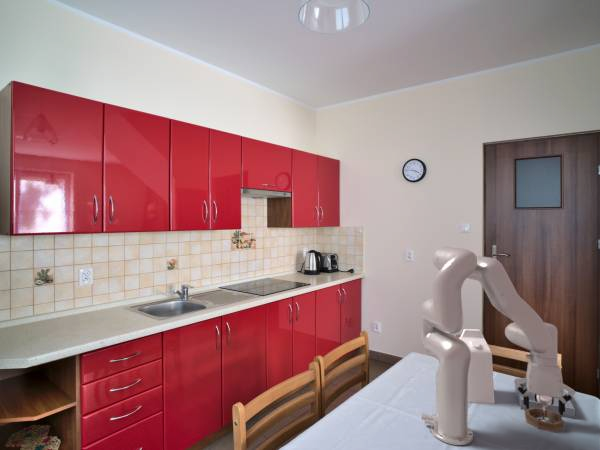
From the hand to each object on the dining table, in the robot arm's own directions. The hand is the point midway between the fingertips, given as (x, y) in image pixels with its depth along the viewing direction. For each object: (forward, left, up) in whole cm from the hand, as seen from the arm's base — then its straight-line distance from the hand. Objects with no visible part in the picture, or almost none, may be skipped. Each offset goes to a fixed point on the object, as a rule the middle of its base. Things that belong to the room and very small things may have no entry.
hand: (543, 410), depth 124 cm
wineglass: (0, 0, -4) cm, 4 cm away
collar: (0, 0, -4) cm, 4 cm away
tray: (+2, +17, -4) cm, 18 cm away
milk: (-22, +11, -5) cm, 25 cm away
